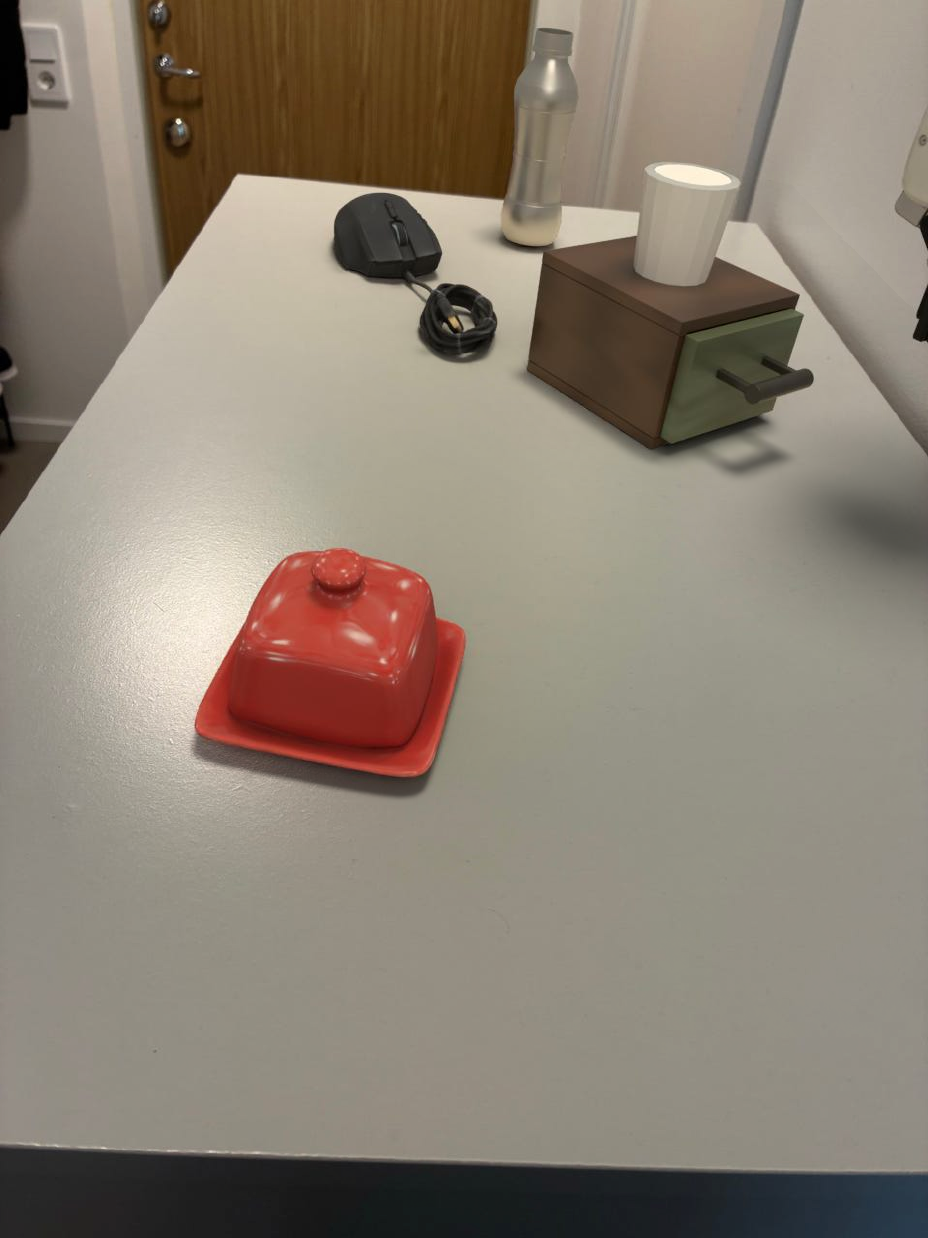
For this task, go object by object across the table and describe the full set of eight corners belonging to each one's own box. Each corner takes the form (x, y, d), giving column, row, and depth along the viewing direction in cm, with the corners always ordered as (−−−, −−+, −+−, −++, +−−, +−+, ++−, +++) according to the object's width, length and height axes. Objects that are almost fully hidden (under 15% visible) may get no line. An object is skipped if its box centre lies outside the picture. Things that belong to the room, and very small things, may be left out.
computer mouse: (398, 230, 103) (400, 176, 100) (530, 355, 81) (539, 292, 78) (313, 234, 100) (313, 179, 96) (428, 366, 78) (432, 300, 74)
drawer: (815, 434, 73) (851, 335, 68) (713, 470, 67) (745, 366, 62) (652, 344, 83) (673, 253, 78) (552, 369, 77) (567, 272, 72)
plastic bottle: (532, 257, 100) (562, 39, 88) (485, 239, 104) (506, 26, 91) (569, 246, 104) (603, 35, 92) (522, 228, 108) (548, 23, 95)
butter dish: (427, 801, 43) (441, 664, 38) (184, 753, 44) (163, 612, 39) (469, 641, 52) (486, 510, 47) (267, 603, 53) (259, 471, 47)
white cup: (734, 282, 71) (761, 183, 67) (669, 294, 68) (693, 191, 64) (671, 251, 76) (693, 157, 71) (606, 262, 72) (625, 163, 68)
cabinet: (762, 413, 77) (800, 294, 71) (650, 449, 71) (682, 322, 64) (635, 342, 86) (659, 231, 79) (526, 369, 79) (543, 250, 73)
